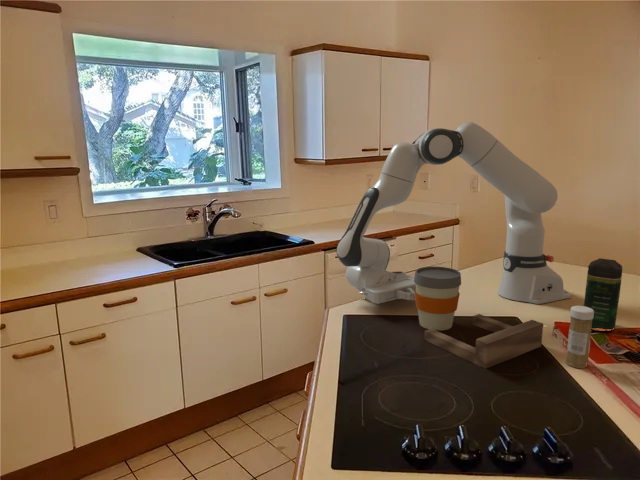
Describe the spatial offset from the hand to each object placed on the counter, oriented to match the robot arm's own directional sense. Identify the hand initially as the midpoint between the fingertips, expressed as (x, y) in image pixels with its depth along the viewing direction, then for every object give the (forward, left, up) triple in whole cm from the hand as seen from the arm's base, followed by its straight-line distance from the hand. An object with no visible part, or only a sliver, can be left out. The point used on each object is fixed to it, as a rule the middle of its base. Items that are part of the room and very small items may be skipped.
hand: (413, 296), depth 138 cm
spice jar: (-23, +39, -6) cm, 45 cm away
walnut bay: (-9, +23, -5) cm, 25 cm away
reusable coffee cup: (-3, +9, -6) cm, 11 cm away
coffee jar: (-45, +21, -6) cm, 50 cm away
